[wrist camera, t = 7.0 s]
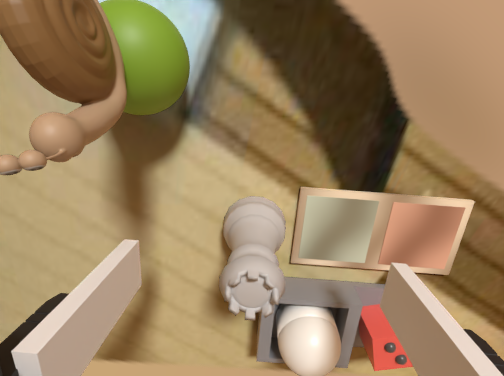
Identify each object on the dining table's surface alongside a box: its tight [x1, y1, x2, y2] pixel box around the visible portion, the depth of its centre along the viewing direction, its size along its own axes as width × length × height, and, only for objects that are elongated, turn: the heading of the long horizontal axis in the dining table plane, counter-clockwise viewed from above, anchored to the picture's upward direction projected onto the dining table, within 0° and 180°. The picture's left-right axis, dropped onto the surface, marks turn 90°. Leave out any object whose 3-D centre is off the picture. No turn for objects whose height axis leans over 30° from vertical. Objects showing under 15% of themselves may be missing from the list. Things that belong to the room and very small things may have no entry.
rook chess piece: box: [219, 196, 286, 321], centre depth 16 cm, size 4×4×8 cm
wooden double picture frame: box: [291, 187, 475, 275], centre depth 20 cm, size 12×6×1 cm, turn 86°
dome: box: [276, 303, 341, 376], centre depth 19 cm, size 4×4×4 cm
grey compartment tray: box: [257, 277, 413, 371], centre depth 20 cm, size 12×6×4 cm, turn 86°
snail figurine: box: [0, 0, 190, 175], centre depth 11 cm, size 5×6×12 cm
